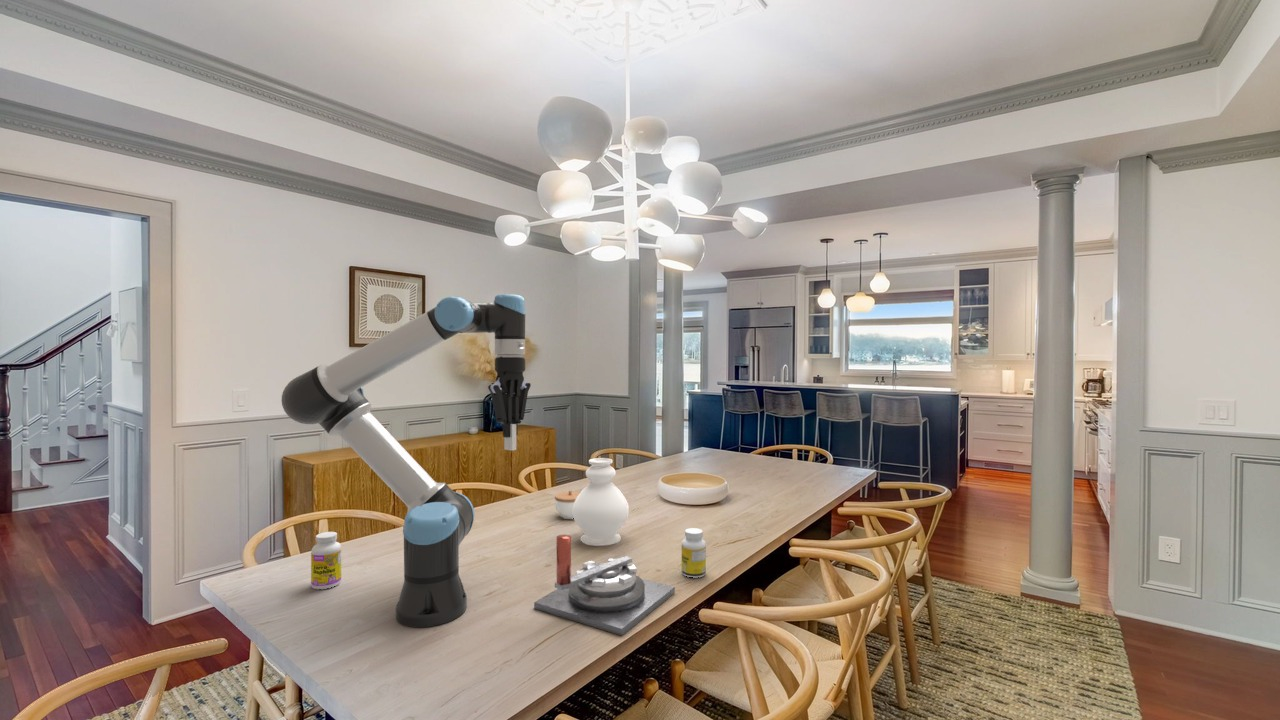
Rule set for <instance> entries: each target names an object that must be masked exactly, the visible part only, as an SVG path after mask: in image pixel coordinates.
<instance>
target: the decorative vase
mask: <svg viewBox="0 0 1280 720" xmlns="http://www.w3.org/2000/svg"><path fill="white" fill-rule="evenodd" d="M588 464H589V465H590V466H588V468H587V469H586V470H585V477H586V478H587V479H588V480H589V481H590V482H589V483H588V484H587V485H586V486H585V487H584V488H583V489H582V490H581V491H579V492H580V494H579V495H578V497H577V498H576V500H575V502H574V504H573V508H572V515H573V518H574V519H573V520H574V522H575V523H576V525H577V526H578V527H579V529H581V531H582V532H583V533H584V534H582V535H581V537H580V542H581V541H582V542H581V543H583V544H584V545H587V546H593V547H605V546H607V547H608V546H612V545H615V544H617V543H619V542H620V541H621V540H622V539H621V535H620V534H619V533H618V531H619V530H621V528H622V526H623V525H624V524H625V523H626V521H627V519H628V517H629V514H630V510H629V509H630V507H629V503H628V500H627V499H626V496H625V495H624V494H623V493H622V492H621V490H620V489H619V488H618V487H617V486H616V485H615V484H614V483H613V482H612V480H613V479H614V478H615V477H616V474H617V473H616V469H615V468H614V467H613V466H611V464H613V459H612V458H608V457H595V458H594V457H593V458H590V459H589V460H588Z"/></svg>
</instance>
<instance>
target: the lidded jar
mask: <svg viewBox="0 0 1280 720" xmlns="http://www.w3.org/2000/svg"><path fill="white" fill-rule="evenodd" d="M580 492H581V491H572V490H568V491H564V492H559V493H556V494H555V496H554V502H555V503H554V504H555V510H556V512H557V514H558V515H559V516H560V517H561V518H562V517H563V518H566V519H565V520H573V519H572V518H573V515H572V508H573V504H574V502H575V500H576V498H577V497H578V495H579V494H580ZM563 518H562V519H563Z"/></svg>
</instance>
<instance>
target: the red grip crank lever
mask: <svg viewBox="0 0 1280 720" xmlns="http://www.w3.org/2000/svg"><path fill="white" fill-rule="evenodd" d="M555 538H556V582H554V588H555V589H560V590H564V589H566V588H569V587H571V586H574V585H576V584H577V587H578V589H579V590H580V591H581V592H583V593H585V594H588V595H592V596H598V597H612V596H618V595H622V594H625V593H628V592H630V591H631V590H633V589H634V588H635V586H636V576H637V573H638V568H637V566H636V565H635V564H634V563H633V558H632V557H630V556H627V555H624V556H621V557H619V558H611V557H610V558H608V560H607V562H599V563H596V562H595V561H593V560H588V561H586V562H583V563H582V568H581V569H579V570H576V571H575V574H574V575H572V536H571V535H570V534H559V535H557V536H556V537H555ZM631 563H632V564H631Z"/></svg>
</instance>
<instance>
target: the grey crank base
mask: <svg viewBox="0 0 1280 720" xmlns="http://www.w3.org/2000/svg"><path fill="white" fill-rule="evenodd" d="M675 588H676V587H675V586H672V585H668V584H666V583H665V584H664V583H660V582H656V581H651V580H647V579H644V578H641V577H639V576H638V575H636V586H635V588H634V589H633V590H631V591H630V592H628V593H625V594H622V595H618V596H612V597H598V596H592V595H588V594H585V593H583V592H581V591H580V590H579V589H578V587H577V584H576V585H574V586H571V587H569V588H566V589H564V590H560V589H558V588H555V589H554V590H553V591H551V592H549V593H548V594H546V595H544V596H542V597H541V598H539V599H537V600H536V601H534V603H533V604H534V605H533V609H535V610H538V611H541V612H543V613H547V614H550V615H554V616H557V617H560V618H563V619H567V620H569V621H573V622H576V623H579V624H582V625H586V626H589V627H592V628H594V629H595V628H596V629H598V630H601V631H604V632H605V631H606V632H609V633H611V634H615V635H618V636H621V637H623V636H624V635H625V634H626V633H627V632H629V631H631V629H632V628H634V627H635V626H636V625H638V623H640V622H641V621H642V620H644V619H645V618H646V617H647V616H648V615H650V614H651V613H652V612H653V611H655V610H656V609H657V608H658V607H659V606H661V605H663V603H664V602H666V601H667V600H668V599H670V598H671V597H672V596H673V595H674V594H675V593H676V590H675ZM673 593H674V594H673ZM671 595H672V596H671ZM666 599H667V600H666ZM665 600H666V601H665ZM660 604H661V605H660Z"/></svg>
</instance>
